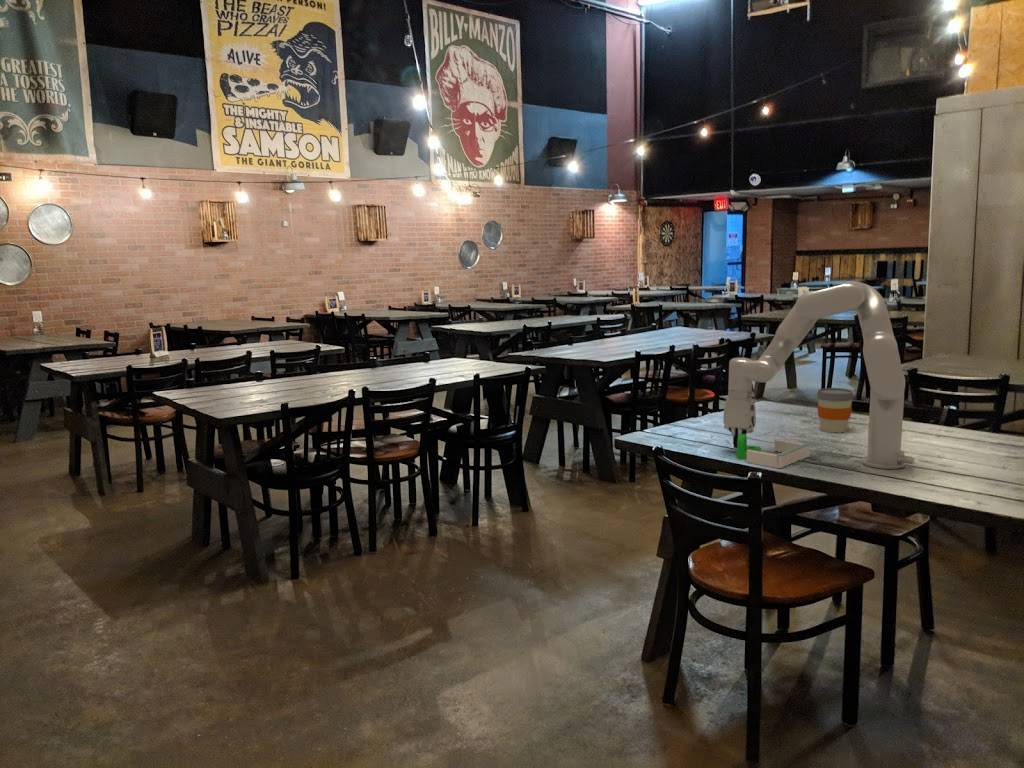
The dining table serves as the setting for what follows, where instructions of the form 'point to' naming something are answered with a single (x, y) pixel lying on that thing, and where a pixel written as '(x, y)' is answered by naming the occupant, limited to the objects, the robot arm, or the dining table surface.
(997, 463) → the dining table surface
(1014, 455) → the dining table surface
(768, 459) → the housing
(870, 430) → the robot arm
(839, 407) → the reusable coffee cup
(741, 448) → the mechanical part
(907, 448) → the dining table surface
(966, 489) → the dining table surface
